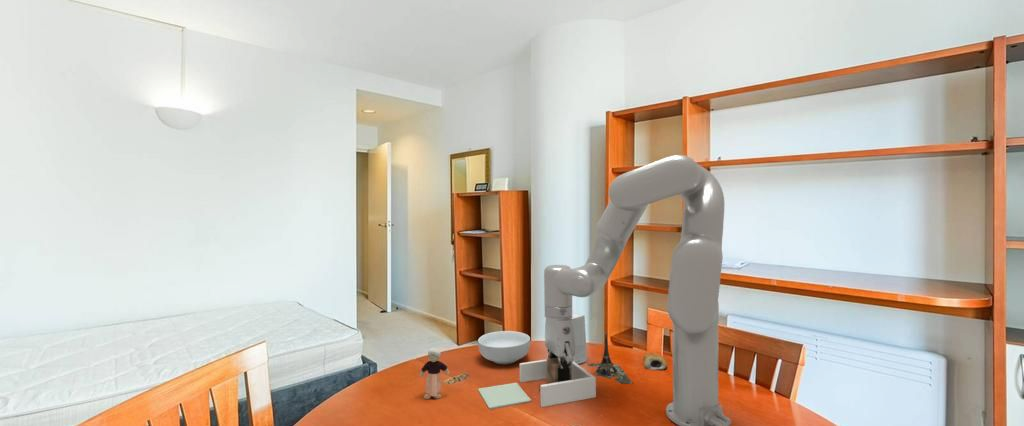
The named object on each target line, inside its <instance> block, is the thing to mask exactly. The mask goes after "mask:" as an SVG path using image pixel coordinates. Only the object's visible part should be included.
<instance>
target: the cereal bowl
mask: <svg viewBox="0 0 1024 426" xmlns="http://www.w3.org/2000/svg"><path fill="white" fill-rule="evenodd" d="M477 340H478V341H477V344H478V345H477V346H478V350H479V352H480V354H481V355H482V357H483V358H484V359H486V360H488V361H491V362H493V363H495V364H498V365H511V364H513V363H516V362H517V361H518V360H520V359H522V358H524V357H526V355H527V353H529V350H530V347H531V336H529V335H528V334H527V333H524V332H519V331H515V330H514V331H513V330H500V331H493V332H488V333H485V334H483V335H481V336H480V337H479V338H478V339H477Z"/></svg>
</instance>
